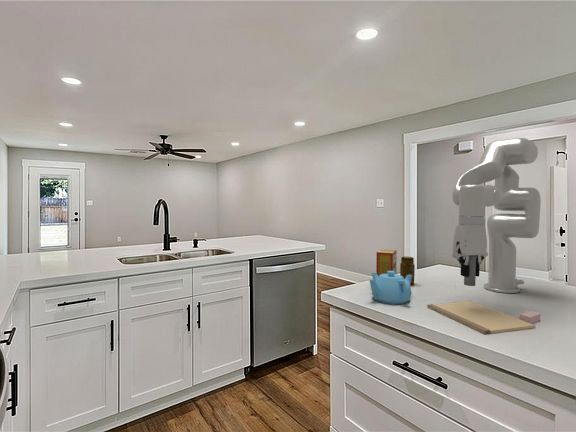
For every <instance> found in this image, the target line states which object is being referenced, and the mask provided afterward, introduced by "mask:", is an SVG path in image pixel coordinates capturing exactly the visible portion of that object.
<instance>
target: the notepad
mask: <svg viewBox="0 0 576 432" xmlns="http://www.w3.org/2000/svg"><path fill="white" fill-rule="evenodd" d="M426 306H427V307H426V308H428V309H430V310H432V311H434V312H436V313H439V314H440V315H442V316H444V317H447V318H449V319H450V320H453V321H455V322H457V323H459V324H462V325H464V326H466V327H468V328H470V329H472V330H474V331H475V332H476V331H477V332H478V333H481V334H483V335H489V334H491V335H492V334H498V333H506V332H513V331H523V330H529V329H536V324H534V323H532V324H531V323H528V322H525V321H523V320H520V319H519V318H517V317H515V316H512V315H509V314H506V313H504V312H500V311H498V310H495V309H494V308H491V307H490V308H489V307H487V306H485V305H482V304H478V302H477V303H476V302H475V301H471V300H469V301H468V300H467V301H457V302H446V303H434V304H433V303H430V304H426Z"/></svg>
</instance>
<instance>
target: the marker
mask: <svg viewBox="0 0 576 432" xmlns="http://www.w3.org/2000/svg"><path fill="white" fill-rule="evenodd" d="M468 265H469V266H470V270H469V277H465V276H463V286H469V287H476V280H477V279H476V277H477V276H476V255H473V256H469V261H468Z"/></svg>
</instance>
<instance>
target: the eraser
mask: <svg viewBox="0 0 576 432" xmlns="http://www.w3.org/2000/svg"><path fill="white" fill-rule="evenodd" d="M518 315H519V316H518V319H520V320H523V321H525V322H528V323H531V324H535V323H537V322H539V321H541V313H539V312H536V311H531V310H527V311H524V312H522V313H519V314H518Z"/></svg>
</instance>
